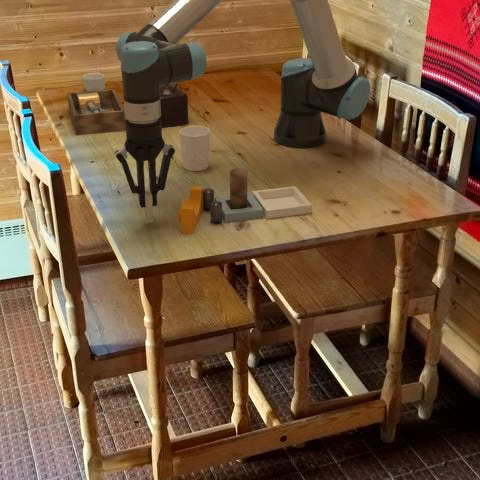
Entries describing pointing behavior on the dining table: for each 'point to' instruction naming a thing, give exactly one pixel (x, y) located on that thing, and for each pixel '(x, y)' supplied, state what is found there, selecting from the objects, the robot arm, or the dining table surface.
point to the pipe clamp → (191, 209)
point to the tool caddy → (98, 114)
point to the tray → (282, 202)
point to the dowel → (238, 188)
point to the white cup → (195, 147)
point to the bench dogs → (212, 206)
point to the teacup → (94, 81)
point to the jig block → (240, 210)
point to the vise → (88, 103)
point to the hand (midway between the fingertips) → (149, 219)
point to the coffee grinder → (173, 106)
